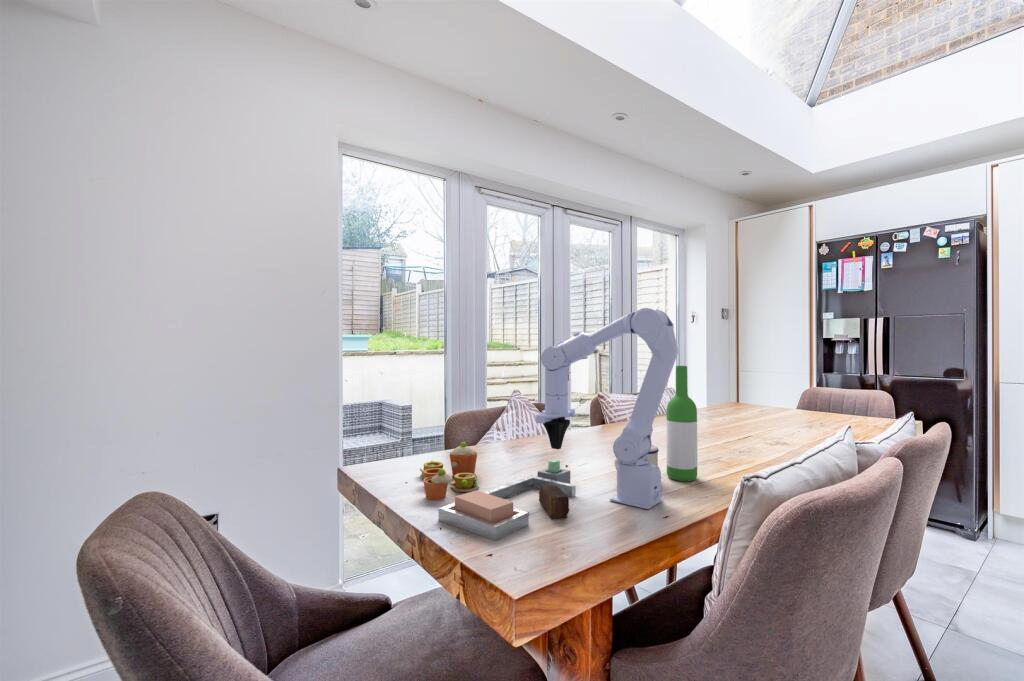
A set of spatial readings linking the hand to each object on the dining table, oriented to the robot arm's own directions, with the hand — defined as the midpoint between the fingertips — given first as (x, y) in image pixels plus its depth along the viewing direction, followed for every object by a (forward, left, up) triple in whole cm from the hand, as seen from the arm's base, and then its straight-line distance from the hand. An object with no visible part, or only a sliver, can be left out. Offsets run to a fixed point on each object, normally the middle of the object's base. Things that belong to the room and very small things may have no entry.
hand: (556, 448), depth 120 cm
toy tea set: (+22, +16, -10) cm, 29 cm away
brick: (-9, +14, -10) cm, 20 cm away
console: (+2, -1, -10) cm, 10 cm away
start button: (+2, -1, -8) cm, 8 cm away
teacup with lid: (-13, -17, -10) cm, 24 cm away
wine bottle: (-21, -28, -10) cm, 36 cm away
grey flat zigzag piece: (-2, +18, -10) cm, 21 cm away
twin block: (-2, +29, -10) cm, 31 cm away
